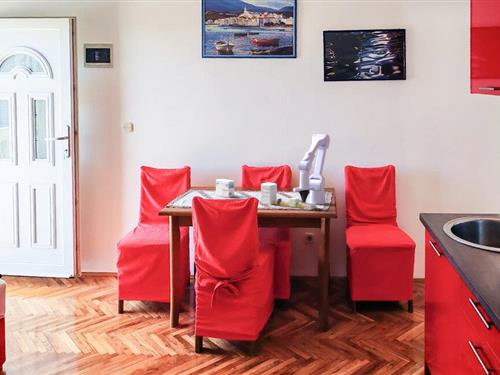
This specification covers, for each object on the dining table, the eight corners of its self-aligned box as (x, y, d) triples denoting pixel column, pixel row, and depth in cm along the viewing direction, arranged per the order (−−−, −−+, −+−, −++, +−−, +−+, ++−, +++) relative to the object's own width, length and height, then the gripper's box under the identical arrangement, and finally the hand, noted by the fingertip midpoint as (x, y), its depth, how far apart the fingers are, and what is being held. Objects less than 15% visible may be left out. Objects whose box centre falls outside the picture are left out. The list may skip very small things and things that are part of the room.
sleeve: (298, 205, 391) (298, 198, 390) (295, 207, 386) (295, 199, 386) (292, 205, 393) (292, 197, 392) (289, 206, 388) (289, 198, 387)
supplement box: (267, 201, 403) (267, 182, 401) (276, 203, 398) (277, 183, 396) (260, 203, 397) (260, 183, 395) (269, 205, 392) (270, 185, 390)
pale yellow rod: (311, 207, 386) (311, 202, 385) (309, 208, 383) (309, 203, 382) (276, 203, 397) (276, 198, 396) (273, 204, 394) (273, 198, 393)
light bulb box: (234, 196, 420) (234, 180, 418) (228, 197, 414) (228, 181, 412) (221, 194, 425) (221, 178, 423) (215, 195, 420) (215, 179, 418)
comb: (315, 207, 387) (315, 203, 386) (311, 209, 380) (311, 205, 380) (309, 206, 389) (309, 202, 388) (304, 209, 382) (305, 204, 382)
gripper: (311, 178, 391) (310, 200, 393) (290, 180, 384) (290, 202, 386) (317, 180, 384) (316, 202, 387) (297, 181, 378) (296, 204, 380)
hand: (303, 202), depth 386 cm, fingers closed
